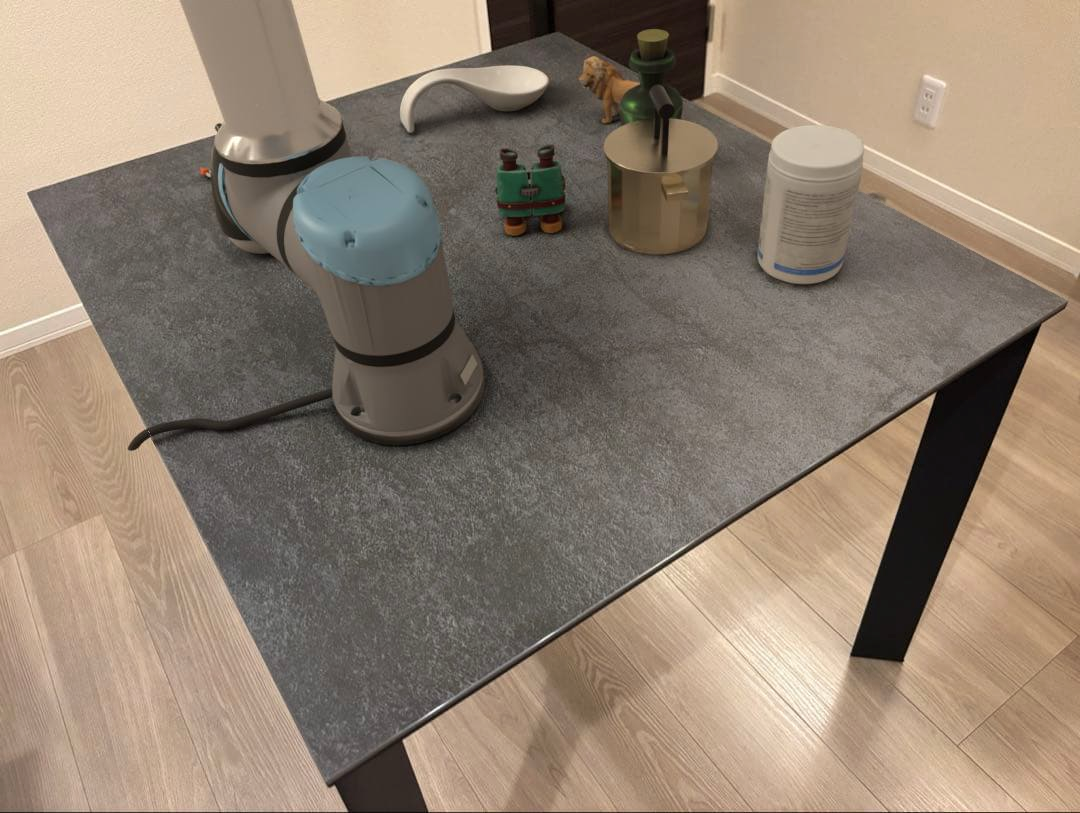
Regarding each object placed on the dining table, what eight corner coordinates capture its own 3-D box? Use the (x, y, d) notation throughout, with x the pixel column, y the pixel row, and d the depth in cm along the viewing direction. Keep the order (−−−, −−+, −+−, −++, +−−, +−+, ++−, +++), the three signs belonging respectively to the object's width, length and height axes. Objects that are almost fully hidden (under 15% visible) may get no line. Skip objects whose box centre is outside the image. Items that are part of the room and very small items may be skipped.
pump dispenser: (289, 211, 112) (254, 102, 101) (323, 243, 105) (289, 131, 95) (218, 239, 108) (173, 130, 97) (248, 275, 102) (204, 162, 91)
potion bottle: (624, 188, 110) (624, 51, 97) (615, 158, 116) (614, 26, 103) (685, 182, 110) (693, 44, 97) (673, 152, 116) (679, 19, 103)
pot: (623, 273, 96) (623, 193, 89) (597, 197, 109) (596, 121, 101) (724, 260, 97) (732, 179, 89) (687, 185, 109) (692, 109, 102)
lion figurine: (575, 121, 124) (572, 61, 118) (594, 107, 127) (592, 48, 121) (661, 142, 118) (664, 80, 112) (679, 126, 121) (682, 65, 114)
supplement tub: (859, 266, 94) (888, 146, 84) (799, 299, 91) (821, 178, 80) (796, 230, 100) (816, 114, 90) (737, 259, 97) (751, 142, 86)
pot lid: (615, 189, 91) (614, 128, 86) (595, 134, 100) (593, 76, 95) (730, 174, 91) (737, 112, 86) (700, 121, 101) (704, 63, 96)
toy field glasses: (561, 122, 103) (565, 153, 96) (565, 201, 110) (569, 235, 102) (490, 128, 104) (488, 159, 96) (498, 206, 110) (497, 241, 102)
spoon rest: (532, 80, 136) (528, 35, 131) (562, 108, 128) (559, 61, 123) (394, 116, 130) (385, 70, 125) (417, 147, 122) (408, 100, 117)
